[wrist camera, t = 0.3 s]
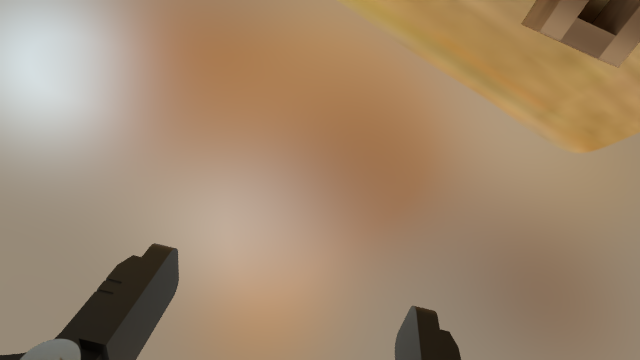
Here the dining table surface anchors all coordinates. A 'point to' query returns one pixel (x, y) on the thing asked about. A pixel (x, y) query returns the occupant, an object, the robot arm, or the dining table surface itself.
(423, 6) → the dining table surface
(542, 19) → the go block
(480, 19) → the dining table surface
